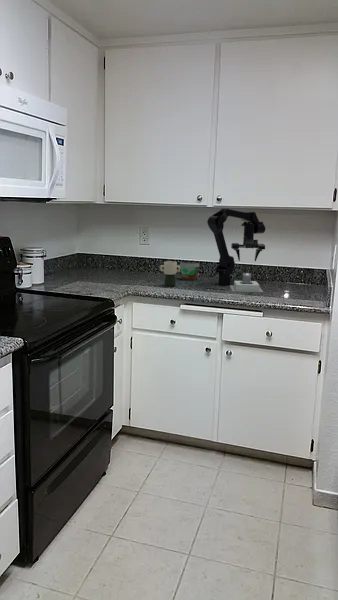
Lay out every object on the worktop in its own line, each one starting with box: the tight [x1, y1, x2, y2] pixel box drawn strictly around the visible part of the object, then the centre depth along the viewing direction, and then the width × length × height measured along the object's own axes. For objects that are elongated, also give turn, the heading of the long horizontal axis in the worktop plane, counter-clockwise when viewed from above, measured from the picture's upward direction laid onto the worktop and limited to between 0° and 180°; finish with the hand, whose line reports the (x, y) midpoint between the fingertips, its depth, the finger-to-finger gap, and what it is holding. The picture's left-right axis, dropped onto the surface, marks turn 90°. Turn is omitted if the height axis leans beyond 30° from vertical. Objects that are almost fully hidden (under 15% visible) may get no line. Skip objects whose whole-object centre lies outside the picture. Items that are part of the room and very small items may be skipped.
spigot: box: [241, 272, 252, 284], centre depth 262 cm, size 4×4×8 cm
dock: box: [229, 280, 264, 294], centre depth 263 cm, size 16×16×4 cm
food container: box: [179, 261, 200, 281], centre depth 287 cm, size 12×6×10 cm, turn 65°
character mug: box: [159, 260, 181, 287], centre depth 268 cm, size 11×7×13 cm, turn 86°
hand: (247, 261), depth 283 cm, fingers open, 9 cm apart
